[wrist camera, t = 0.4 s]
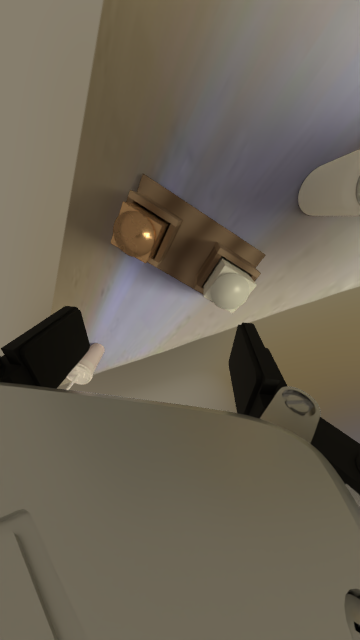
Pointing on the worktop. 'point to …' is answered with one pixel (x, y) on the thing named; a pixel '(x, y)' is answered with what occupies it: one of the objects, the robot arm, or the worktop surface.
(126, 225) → the copper plunger
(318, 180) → the can
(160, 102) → the worktop surface
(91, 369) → the smoothie
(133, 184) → the worktop surface
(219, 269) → the pale plunger
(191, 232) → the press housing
